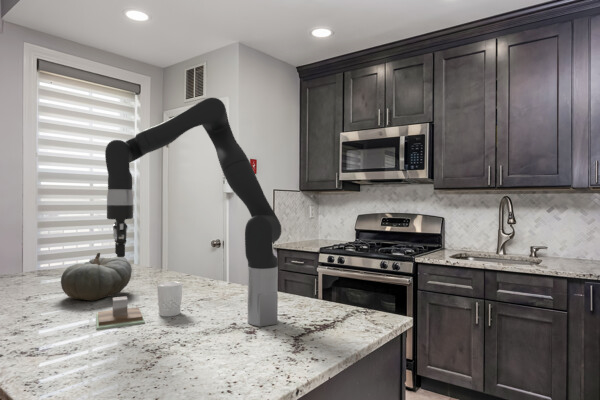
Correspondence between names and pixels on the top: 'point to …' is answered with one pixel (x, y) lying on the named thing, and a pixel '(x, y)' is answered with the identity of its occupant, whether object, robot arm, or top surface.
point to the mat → (117, 323)
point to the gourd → (96, 278)
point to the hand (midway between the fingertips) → (119, 255)
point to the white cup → (169, 298)
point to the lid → (119, 313)
